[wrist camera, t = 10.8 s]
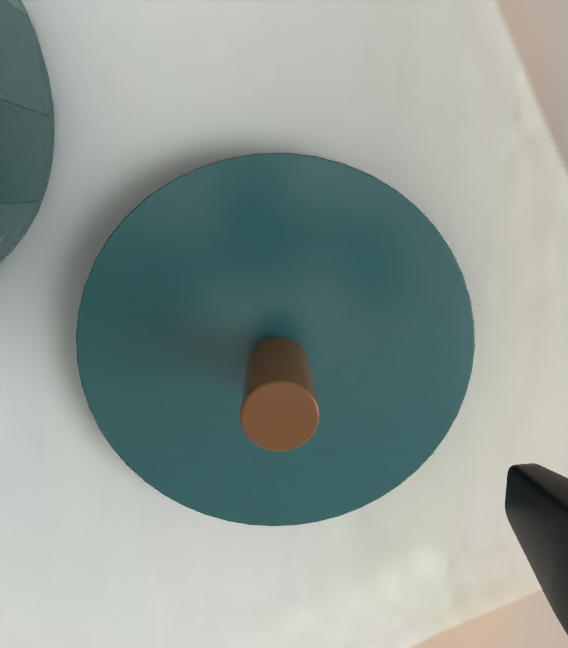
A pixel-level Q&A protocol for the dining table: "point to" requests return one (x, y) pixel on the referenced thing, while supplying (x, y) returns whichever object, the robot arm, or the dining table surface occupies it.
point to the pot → (22, 125)
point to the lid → (275, 339)
